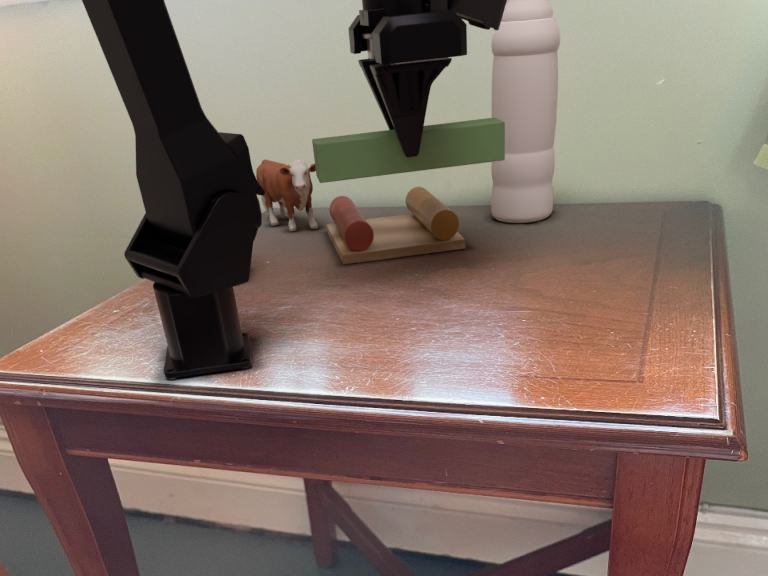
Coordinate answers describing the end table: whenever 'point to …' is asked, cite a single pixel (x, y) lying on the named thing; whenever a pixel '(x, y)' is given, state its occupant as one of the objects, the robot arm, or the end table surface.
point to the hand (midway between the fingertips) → (408, 153)
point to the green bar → (387, 156)
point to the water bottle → (525, 110)
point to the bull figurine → (287, 189)
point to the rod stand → (394, 230)
